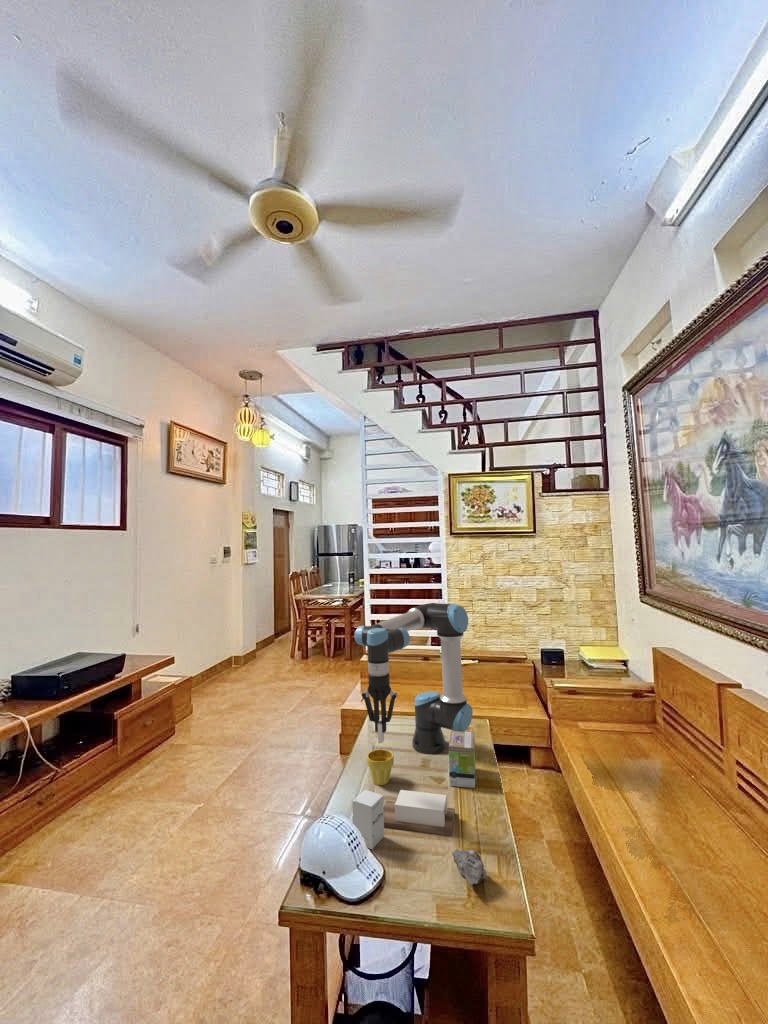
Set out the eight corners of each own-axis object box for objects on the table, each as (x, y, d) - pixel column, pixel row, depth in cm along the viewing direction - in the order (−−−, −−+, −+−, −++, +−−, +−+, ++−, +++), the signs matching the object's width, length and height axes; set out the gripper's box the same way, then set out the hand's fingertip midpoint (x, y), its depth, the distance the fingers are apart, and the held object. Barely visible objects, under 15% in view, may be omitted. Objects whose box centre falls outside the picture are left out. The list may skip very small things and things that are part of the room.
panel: (400, 804, 152) (400, 789, 152) (447, 810, 148) (446, 795, 148) (395, 820, 143) (394, 804, 144) (444, 827, 139) (443, 810, 140)
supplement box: (372, 851, 131) (371, 807, 132) (352, 842, 135) (351, 800, 136) (385, 836, 138) (384, 795, 139) (365, 829, 142) (364, 788, 143)
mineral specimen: (480, 896, 120) (445, 890, 118) (476, 859, 126) (444, 854, 125) (495, 887, 114) (460, 881, 113) (491, 849, 121) (457, 843, 119)
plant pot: (391, 789, 165) (390, 762, 165) (364, 787, 167) (364, 760, 167) (396, 775, 175) (395, 749, 175) (371, 773, 177) (370, 748, 177)
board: (386, 804, 155) (386, 791, 155) (454, 813, 149) (454, 799, 149) (377, 826, 143) (377, 811, 143) (451, 836, 137) (450, 820, 138)
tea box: (476, 788, 163) (474, 747, 165) (449, 786, 165) (447, 746, 167) (475, 768, 178) (474, 731, 179) (451, 766, 180) (449, 729, 181)
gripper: (358, 675, 154) (360, 744, 153) (394, 677, 151) (396, 747, 149) (364, 669, 161) (366, 735, 160) (398, 670, 158) (401, 737, 157)
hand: (381, 741), depth 155 cm, fingers closed
